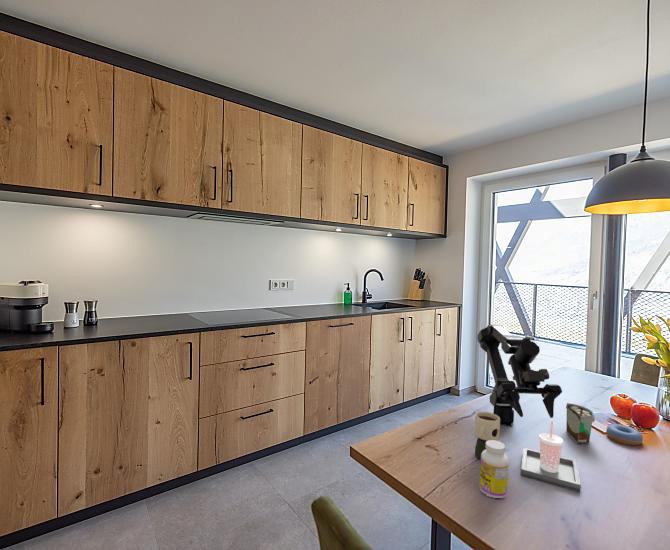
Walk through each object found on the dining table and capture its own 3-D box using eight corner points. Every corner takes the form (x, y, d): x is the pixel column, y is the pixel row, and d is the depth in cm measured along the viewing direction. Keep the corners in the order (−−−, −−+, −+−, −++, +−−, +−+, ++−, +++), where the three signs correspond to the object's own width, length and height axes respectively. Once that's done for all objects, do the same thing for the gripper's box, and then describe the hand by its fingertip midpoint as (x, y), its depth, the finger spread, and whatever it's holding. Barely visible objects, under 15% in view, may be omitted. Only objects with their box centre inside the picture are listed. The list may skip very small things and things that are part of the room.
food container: (600, 448, 122) (602, 418, 121) (579, 446, 123) (581, 416, 122) (583, 431, 134) (585, 404, 133) (564, 429, 135) (566, 402, 134)
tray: (521, 475, 105) (521, 469, 105) (523, 453, 117) (523, 447, 117) (580, 492, 98) (580, 484, 98) (576, 466, 111) (576, 460, 110)
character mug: (492, 469, 108) (494, 425, 107) (467, 460, 112) (469, 418, 112) (502, 454, 116) (504, 413, 116) (479, 446, 121) (481, 407, 120)
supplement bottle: (474, 484, 101) (477, 438, 100) (498, 483, 101) (500, 437, 101) (487, 500, 94) (489, 451, 93) (512, 499, 95) (514, 450, 94)
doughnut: (646, 440, 128) (645, 426, 128) (639, 451, 121) (638, 437, 121) (610, 432, 136) (610, 419, 135) (603, 442, 129) (602, 429, 129)
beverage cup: (563, 476, 104) (566, 427, 103) (539, 471, 106) (541, 423, 106) (559, 464, 110) (561, 418, 109) (535, 460, 112) (538, 414, 111)
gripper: (501, 358, 120) (516, 405, 109) (560, 359, 119) (580, 407, 109) (491, 374, 128) (503, 419, 118) (546, 376, 128) (563, 421, 117)
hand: (537, 417), depth 115 cm, fingers open, 9 cm apart
